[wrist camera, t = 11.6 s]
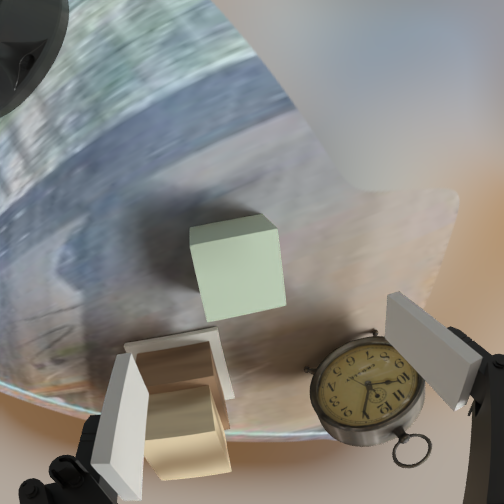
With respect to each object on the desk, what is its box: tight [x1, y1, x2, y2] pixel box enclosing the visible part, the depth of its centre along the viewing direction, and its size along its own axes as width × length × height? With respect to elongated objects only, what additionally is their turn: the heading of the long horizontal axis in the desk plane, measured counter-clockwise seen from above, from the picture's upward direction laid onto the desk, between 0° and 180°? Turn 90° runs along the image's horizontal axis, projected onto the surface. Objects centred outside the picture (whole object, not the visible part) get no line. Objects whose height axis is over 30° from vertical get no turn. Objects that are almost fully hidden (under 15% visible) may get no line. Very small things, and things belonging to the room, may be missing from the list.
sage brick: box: [190, 214, 286, 322], centre depth 25 cm, size 6×6×5 cm
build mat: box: [124, 327, 235, 400], centre depth 30 cm, size 9×9×1 cm
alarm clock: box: [304, 330, 432, 468], centre depth 26 cm, size 11×5×16 cm, turn 113°
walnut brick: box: [135, 341, 230, 430], centre depth 27 cm, size 7×7×5 cm
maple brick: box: [144, 385, 231, 481], centre depth 22 cm, size 6×6×5 cm
